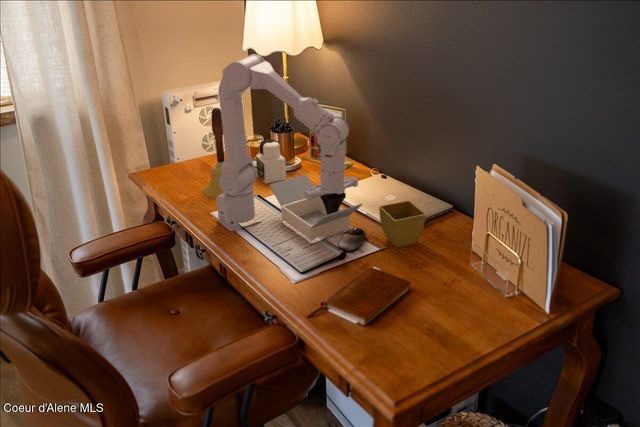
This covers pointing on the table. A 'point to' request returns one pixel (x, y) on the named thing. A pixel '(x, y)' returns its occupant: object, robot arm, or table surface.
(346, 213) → the near flap
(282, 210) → the storage box
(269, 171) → the medicine bottle
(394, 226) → the flower pot
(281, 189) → the far flap
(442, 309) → the table surface
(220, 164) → the handbell
